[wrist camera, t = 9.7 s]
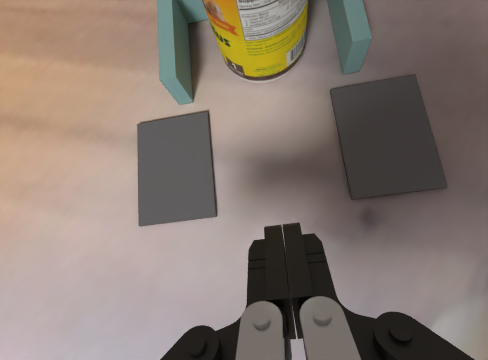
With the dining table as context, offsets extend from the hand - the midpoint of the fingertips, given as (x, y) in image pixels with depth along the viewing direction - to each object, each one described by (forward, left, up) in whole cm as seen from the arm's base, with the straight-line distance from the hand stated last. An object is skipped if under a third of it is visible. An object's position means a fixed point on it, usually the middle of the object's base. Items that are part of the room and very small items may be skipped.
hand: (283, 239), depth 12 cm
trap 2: (-6, +5, -4) cm, 9 cm away
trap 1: (+7, +5, -4) cm, 10 cm away
